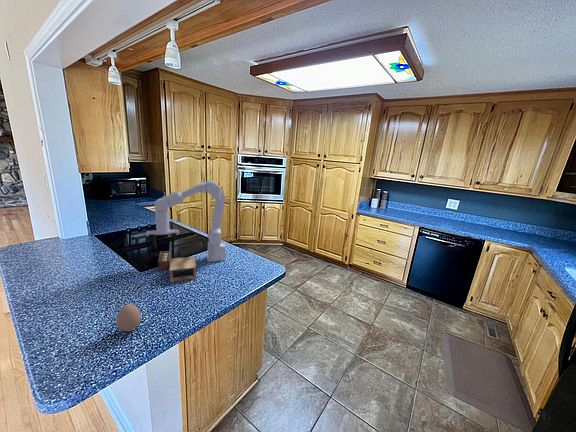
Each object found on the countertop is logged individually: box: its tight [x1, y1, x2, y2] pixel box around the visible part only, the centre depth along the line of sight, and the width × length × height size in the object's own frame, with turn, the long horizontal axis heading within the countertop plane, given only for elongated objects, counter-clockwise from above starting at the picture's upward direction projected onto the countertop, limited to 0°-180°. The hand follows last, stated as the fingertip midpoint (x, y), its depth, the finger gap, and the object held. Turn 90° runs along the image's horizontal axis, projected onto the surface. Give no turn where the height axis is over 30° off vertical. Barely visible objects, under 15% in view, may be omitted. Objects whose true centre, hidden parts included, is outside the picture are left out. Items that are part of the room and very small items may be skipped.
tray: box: [157, 250, 172, 271], centre depth 121 cm, size 5×13×4 cm, turn 23°
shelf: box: [169, 256, 197, 283], centre depth 113 cm, size 11×12×6 cm
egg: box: [116, 303, 142, 332], centre depth 76 cm, size 7×7×9 cm
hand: (164, 247), depth 119 cm, fingers open, 7 cm apart
